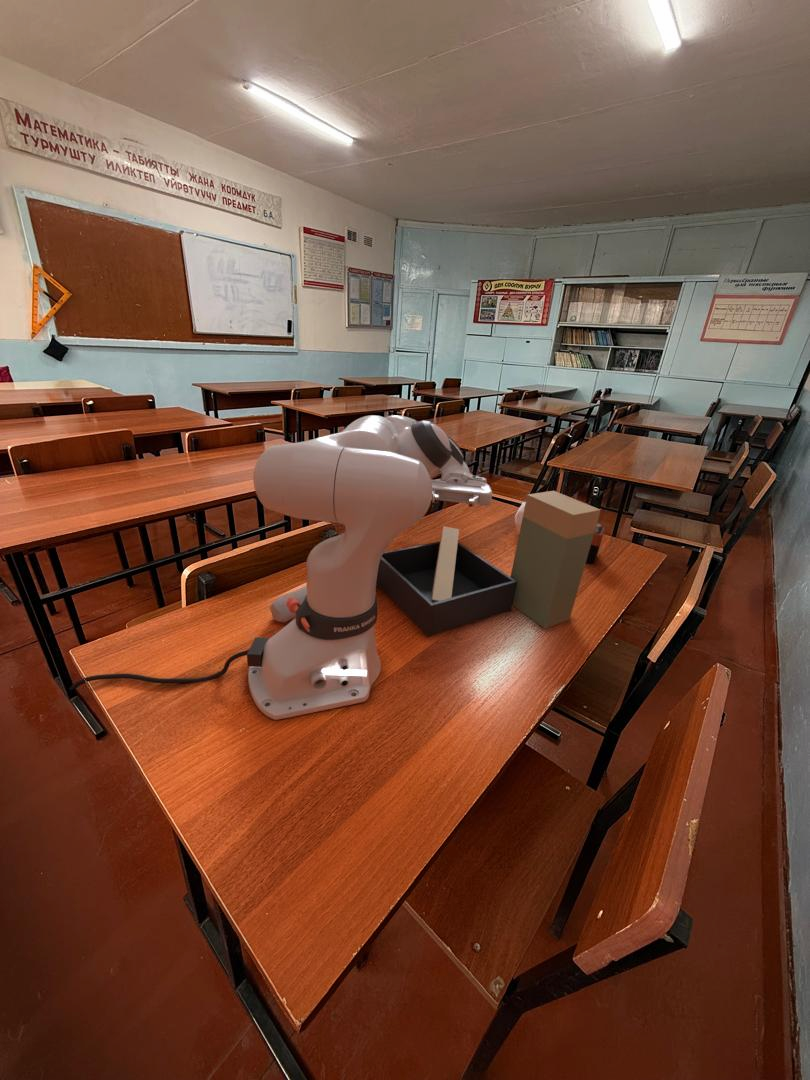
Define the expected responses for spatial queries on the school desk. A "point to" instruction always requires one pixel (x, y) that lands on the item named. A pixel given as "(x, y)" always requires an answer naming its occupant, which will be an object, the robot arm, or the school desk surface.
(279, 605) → the tube
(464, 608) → the bin
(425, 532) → the school desk surface
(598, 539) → the battery
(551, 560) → the stand
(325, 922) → the school desk surface
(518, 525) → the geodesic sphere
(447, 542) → the cream rectangular beam
